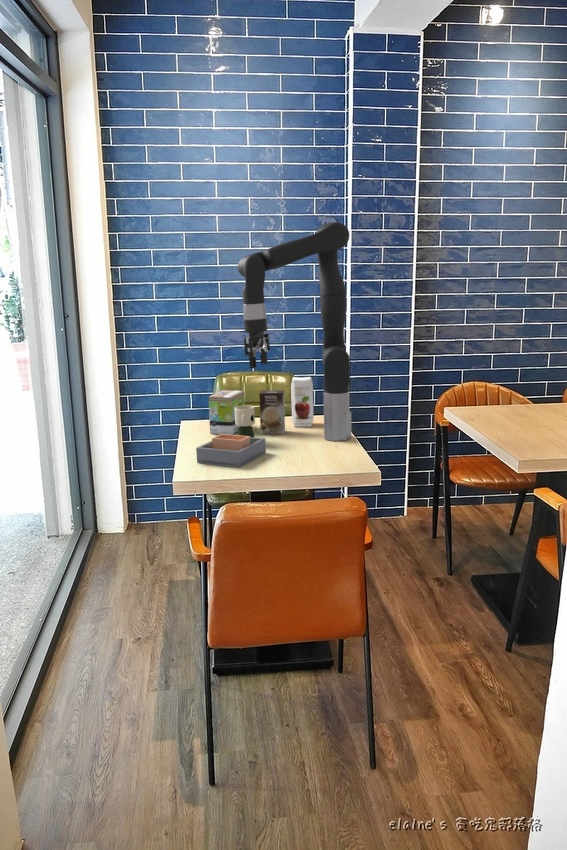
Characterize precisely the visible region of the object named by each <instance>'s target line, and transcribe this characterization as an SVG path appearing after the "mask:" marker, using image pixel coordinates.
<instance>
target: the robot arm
mask: <svg viewBox="0 0 567 850" xmlns="http://www.w3.org/2000/svg"><path fill="white" fill-rule="evenodd" d="M349 240H350V231H349V228H348V227H347V226H346V225H345V224H344V223H342V222H338V221H332V222H328V223H323V224H321V225H319V227H318V228H317V230H316V233H313V234H310V235H308V236H305V237H302V238H298V239H294V240H290V241H286V242H283V243H280V244H277V245H275V246H271V247H269V248H268V249H266V250H265V249H264V250H262V251H259V252H254V253H251V254H247V255H245V256H244V257H242V258H240V260H239V261H238V264H237V271H238V273H239V274H240V276H242V277H244V278H245V279H244V280H245V281H244V284H245V285H244V287H243V289H242V302H243V308H242V309H243V312H242V313H243V323H244V332H245V333H247V334H248V336H246V337H245V336H244V338H243V342H244V343H243V345H244V347H243V348H244V356H247V357H248V362H249V364H248V365H249V369H256V368H257V358H256V356H257V352H260V365H268V353H269V351H270V350H271V343H270V335H269V333H268V332H267V331H268V320H267V308H266V304H265V291H264V289H265V287H264V286H265V280H266V279H265V278H266V272H268V271H271V270H272V271H273V270H277V269H280V268H282V267H286V266H289V265H291V264H293V263H295V262H298V261H301V260H303V259H305V258H307V257H310V256H312V255H316V254H317V262H318V275H319V276H318V278H319V279H318V280H319V305H320V306H319V307H320V316H321V318H320V319H321V323H322V330H323V331H322V333H323V335H322V336H323V338H322V339H323V340H322V343H323V344H322V354H321V361H322V364H323V386H322V389H323V436H324V437H323V438H324V439H325V440H327V441H331V442H336V441H339V442H340V441H344V442H345V441H348V440H350V438H352V411H350V385H351V383H350V382H351V359H350V355H349V353H348V352H347V350H346V344H345V335H344V334H345V324H346V323H345V322H346V317H347V308H348V305H347V304H348V301H347V300H348V299H347V288H346V284H345V282H344V278H343V276H342V273H341V271H340V267H339V261H338V257H339V255H338V254H339V253H338V251H339V250H341V249H343V248H344V247H346V245H347V244H348V242H349Z"/></svg>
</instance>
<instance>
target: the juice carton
mask: <svg viewBox="0 0 567 850" xmlns="http://www.w3.org/2000/svg"><path fill="white" fill-rule="evenodd" d="M290 394H291V395H290V398H291V400H290V401H291V421H292V424H293V427H294V428H304V427H305V428H308V427H309V428H311V427H312V426H313V422H314V383H313V379H312V377H311V376H307V377H306V376H304V377H299V376H298V377H297V376H296V377H295V376H293V377H292V379H291V383H290Z"/></svg>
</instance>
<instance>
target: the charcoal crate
mask: <svg viewBox="0 0 567 850" xmlns="http://www.w3.org/2000/svg"><path fill="white" fill-rule="evenodd" d="M195 451H196V462H197V464H205V465H215V466H225V467H232V468H233V467H234V468H241V467H243V466H246V465H247V464H248V463H251V462H252V461H254V460H256V459H258V458H259V457H261V456H263V455H264V454H266V453H267V452H266V451H267V449H266V438H262V437H255V436H254V437H250V445H249V446H247V447H245V448H243V449H241V450H239V451H232V450H222V449H213V444H212V440H210V441H207V442H206V443H204V444H202V445H199V446H197V447H195Z"/></svg>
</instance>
